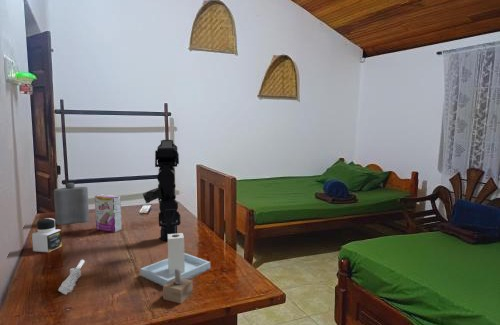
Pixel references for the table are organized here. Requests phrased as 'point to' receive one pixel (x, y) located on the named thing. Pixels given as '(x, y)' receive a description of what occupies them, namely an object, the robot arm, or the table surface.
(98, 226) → the candy bar box
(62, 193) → the flask
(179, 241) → the bored block
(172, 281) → the wood block with post
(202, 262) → the tray
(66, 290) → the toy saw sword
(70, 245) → the table surface
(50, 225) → the medicine bottle
